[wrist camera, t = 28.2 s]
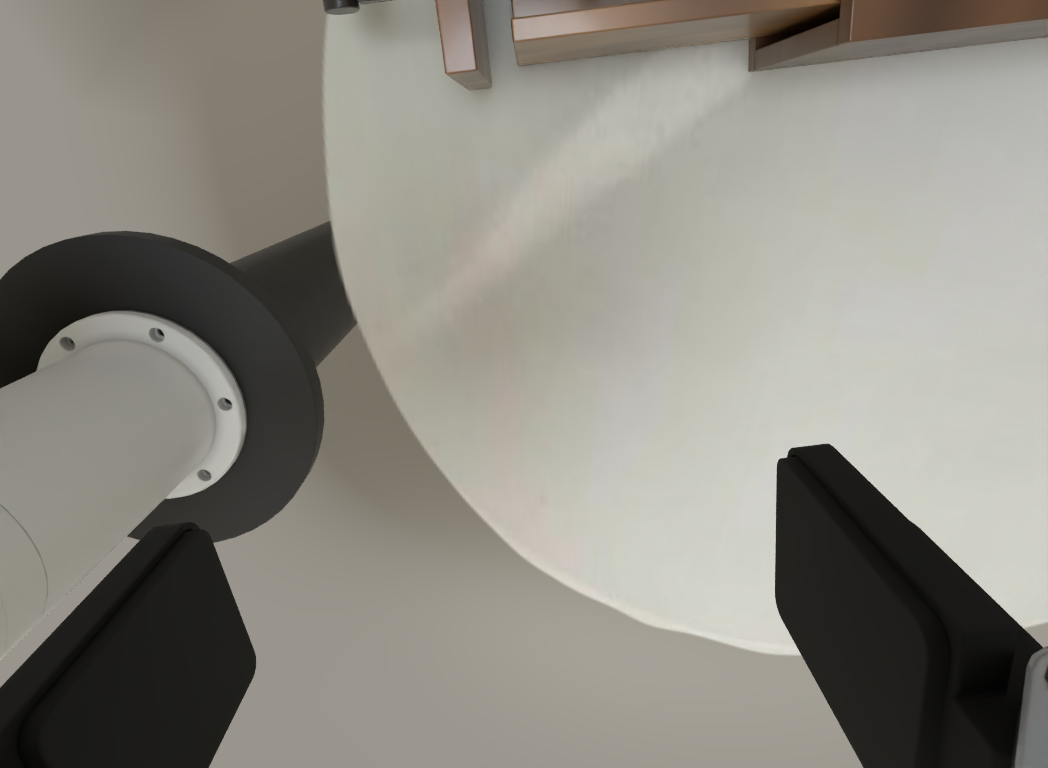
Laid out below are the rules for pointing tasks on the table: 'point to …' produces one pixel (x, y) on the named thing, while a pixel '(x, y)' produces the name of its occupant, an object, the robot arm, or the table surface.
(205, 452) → the robot arm
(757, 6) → the drawer
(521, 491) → the table surface
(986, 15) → the cabinet
